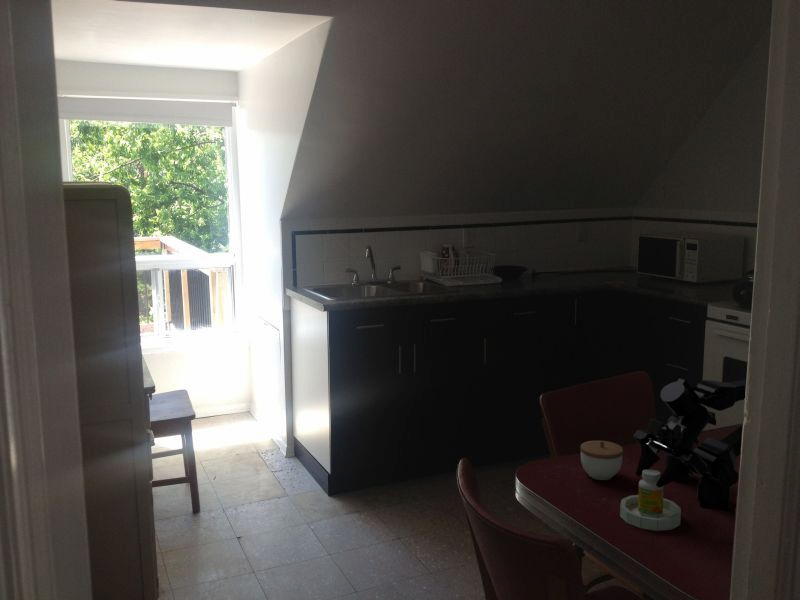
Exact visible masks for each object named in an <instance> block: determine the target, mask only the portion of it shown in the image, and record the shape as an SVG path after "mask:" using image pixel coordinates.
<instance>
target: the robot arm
mask: <svg viewBox="0 0 800 600" xmlns="http://www.w3.org/2000/svg"><path fill="white" fill-rule="evenodd" d="M745 384H746V379H742V380H735V381H729V382H725V381H716V380H706V379H705V380H701V381H700V382H698V383H697V384H696V385H693V386H691V385H690V383H689V382H688V381H687V380H686V379H683V378H678V379H677V381H672V382H671V383H668V384H667V385H665V386H663V387H662V389H661V390H660V394H659V395H660V399H661V400H662V401H663V402H664V404H665V405H666V406H667V407H668V408H669V409H670V410H671V412H672V411H673V412H674V414H676V415H677V416H679V418H678V419H677V420H676V422H673V421H670V422H668V424H667V423H663V422H661V421H659V420H657V419H654V418H650V420H649V423H648V424H647V427H646V429H643V428H641V429H637V430H636V432H635V433H634V434H633V436H632V437H633V438H634V439H635V440H636V441H637V442H638V444H639V446H640V450H641V454H640V459H639V462H638V465H637V469H636V470H635V471H636V472H635V475H636V476H637V477H642V471H643V470H645V469H651V467H653V466H654V465H655V464H656V463H657V462H658V461H660V459H661V458H660V457H659V455H657V454H659V453H660V452H661V453H663V454H664V455H665V454H667V455H669V456H670V463H669V466H668V467H667V468H666V470H665V469H664V471H663V473H662V474H661V477H660V478H659V480H658V482H657V483H656V486H657V487H659V488H660V487H662V486H664V487H665V486H666V485H668V484H670V483H673V482H676V481H675V480H677V479H680V478H682V477H685V476H688V475H691V476H692V477H693V475H697V476H699V477H700V479H698V481H697V492H696V493H697V494H696V499H697V501H698V503H699V507H705V508H712V509H720V510H725V511H726V510H730V502H729V501H730V491H731V489H730V488H731V487H732V486H733V485H736V484H737V483H738V480H739V477H738V474H739V473H738V471H736V470H735V469H734V468H735V464H736V460H737V458H738V457H739V456H740V455H741V454H740V447H741V433H742V425H741V426H739V427H737V428H736V429H735V430H733V431H732V432H730V433H729V434H728V435H726V436H725V437H724V438H722V439H720V440H717V439H716V438H713V437H711V436H710V437H707V438H706V439H705V440H704V441H702V442H701V443H700V440H699V439H698V437H699V436H700V434H701V433H702V432H703V430H704V429H705V428H706V427H707V425H708V424H710V425H712V426H717V418H716V413H715V412H713V411H711V410H708V408H710V409H712V410H716V411H720V412H721V411H725V410H727V409H730V408H733V407H734V405H735V404H736V403H737V402H740V401H744V398H745ZM673 412H672V413H673ZM692 444H694V445H696V448H694V451H693V452H692V451H690V450H688V449H689V448H690V446H691V445H692ZM666 449H667V450H666ZM692 472H693V473H692Z"/></svg>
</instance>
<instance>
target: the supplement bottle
mask: <svg viewBox="0 0 800 600" xmlns="http://www.w3.org/2000/svg"><path fill="white" fill-rule="evenodd" d="M661 475H662V474H661V472H660V471H659V470H657V469H652V468H649V469H645V470H643V471H642V475H641V477H642V478H641V479H640V480H639V482H638V494H637V495H638V511H639V513H640V514H642V515H644V516H647V517H659V516H661V515H662V514H663V498H664V487H665V485H664V486H662V487H660V488H659V487H657V486H656V483H657V482H658V480H659V478H660V477H661Z"/></svg>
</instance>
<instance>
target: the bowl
mask: <svg viewBox="0 0 800 600" xmlns="http://www.w3.org/2000/svg"><path fill="white" fill-rule="evenodd" d="M619 516H620V518H621V519H622V520H623V521H624V522H625V523H626V524H629V525H632V526H634V527H636V528H639V529H641V530H642V529H643V530H649V531H655V532H656V531H657V532H659V531H671V530H674V529H676V528H677V527H679V526H681V521H682V520H681V516H682V508H681V506H679V505H678V504H676V503H675V502H674V501H673V500H669V499H667V498H664V497H663V514H662V515H661V516H659V517H647V516H644V515H642V514H640V513H639V511H638V494H635V495H628V496H626V497H624V498H622V499H621V501H620V506H619Z"/></svg>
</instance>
